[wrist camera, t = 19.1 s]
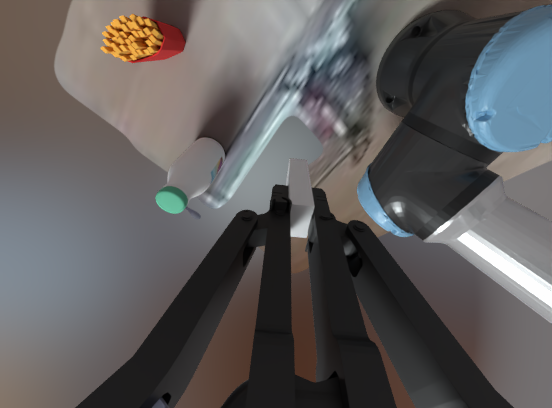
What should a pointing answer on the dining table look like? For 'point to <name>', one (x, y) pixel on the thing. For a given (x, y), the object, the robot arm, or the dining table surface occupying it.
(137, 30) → the french fries
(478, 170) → the robot arm
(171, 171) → the milk bottle
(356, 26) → the dining table surface
